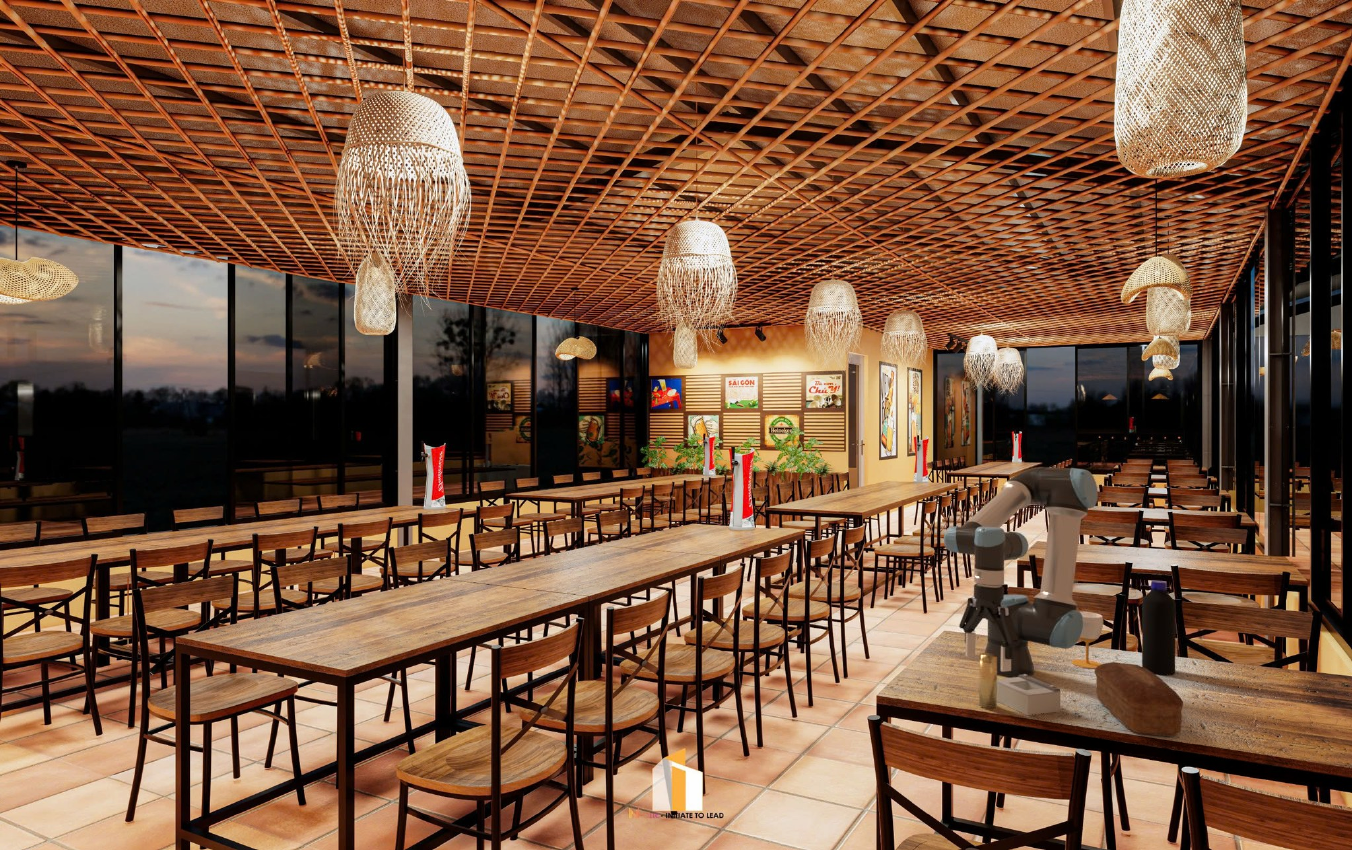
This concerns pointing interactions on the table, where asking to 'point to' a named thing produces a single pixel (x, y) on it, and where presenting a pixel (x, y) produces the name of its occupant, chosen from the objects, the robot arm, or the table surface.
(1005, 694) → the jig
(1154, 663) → the bottle
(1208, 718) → the table surface
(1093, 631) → the cup
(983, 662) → the golden cylinder
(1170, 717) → the bread
